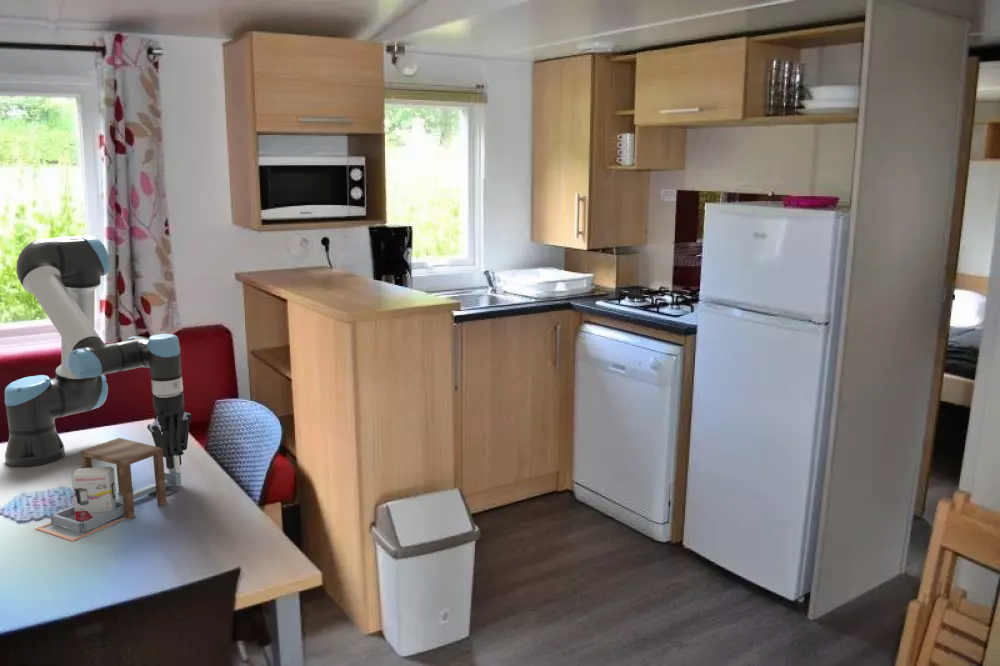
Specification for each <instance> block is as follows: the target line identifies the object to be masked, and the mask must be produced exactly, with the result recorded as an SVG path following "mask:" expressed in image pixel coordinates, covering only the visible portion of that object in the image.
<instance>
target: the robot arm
mask: <svg viewBox="0 0 1000 666" xmlns="http://www.w3.org/2000/svg"><path fill="white" fill-rule="evenodd" d="M15 267H16V275H17V278H18V281H19V283H20V284H21V286H22V287H23V289H24V290H25V291H26V292H27V293H29V294H32V295H33V296H34V298H35V299H36V300H37V303H38V304H39V305H40V307H41V309H42V310H43V311H44V313H45V314H46V316H47V318H49V320H50V322H51V323H52V325H53V326H54V327H55V330H56V331H57V332H58V333H59V335H60V336H61V338H60V339H61V342H60V343H61V346H60V347H61V352H60V354H61V356H60V357H61V363H60V364H59V366H57V367H56V369H55V377H54V378H50V377H49V376H48V375H45V374H37V375H34V376H33V375H31V376H26V377H22V378H19V379H16V380H14V381H12V382H10V383H9V384H8V385H7V386H6V387H5V389H4V404H5V409H6V416H7V424H8V434H9V437H8V441H7V445H6V449H5V453H4V459H5V464H6V465H8V466H11V467H16V468H17V467H19V468H20V467H22V468H23V467H34V466H35V467H36V466H40V465H45V464H49V463H52V462H56V461H57V460H60V459H61V458H63V457H64V456H65V454H66V449H65V445H64V443H63V441H62V439H61V437H60V435H59V433H58V431H57V429H56V423H55V422H56V421H55V419H57V418H63V417H67V416H71V415H75V414H80V413H84V412H85V413H86V412H89V411H92V410H94V409H98V408H101V406H103V405H104V403H105V402H106V400H107V398H108V397H107V396H108V392H109V385H108V383H107V378H106V375H108V374H113V373H119V372H124V371H129V370H134V369H138V368H146V369H149V371H150V373H149V374H150V382H151V394H153V396H152V405H153V409H154V412H155V414H154V421H153V422H152V423H150V424H148V425H146V427H147V430H148V431H149V432H150V434H151V436H152V439H153V442H154V446H156V447H160V448H162V451H163V458H165V466H166V468H167V470H168V471H172V472H176V473H180V474H181V473H182V472H181V466H182V456H183V455H184V453H185V452H184V451H186V450H187V449H188V443H189V442H188V441H189V433H190V426H191V425H190V424H191V420H192V418H193V414H192V413H190V412H189V413H188V412H185V408H184V406H185V397H184V393H183V392H184V385H183V375H182V374H183V373H182V372H183V371H182V358H181V357H182V356H181V347H180V340H179V337H178V336H177V335H176V334H172V333H159V334H154V335H153V334H152V335H151V336H149V337H148V338H147V337H145V336H141V335H140V336H135V335H133V336H130V337H128V338H126V339H125V340H124V341H119V342H112V343H105V342H104V341H103V340H102V338H101V337H100V335H99V334H98V333H97V330H96V329H95V307H96V306H95V305H96V304H95V302H96V301H95V298H96V297H95V295H96V293H95V292H96V289H97V288H98V287H99V286H100V285H101V282H102V281H101V277H104V276H106V275H107V274H108V273H109V271H110V269H111V263H110V256H109V253H108V251H107V248H106V247H105V245H104V244H103V242H102V241H101V240H100V239H99V238H98V237H97V236H94V235H93V236H92V235H76V236H75V235H73V236H64V237H63V236H61V237H51V238H50V237H49V238H48V237H47V238H46V237H45V238H38V239H36V240H32V241H31V242H29V243H28V244H27V245H25V247H24V248H23V249H22V250H21V252H20V253H19V255H18V258H17V260H16V266H15Z"/></svg>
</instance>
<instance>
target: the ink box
mask: <svg viewBox="0 0 1000 666" xmlns="http://www.w3.org/2000/svg"><path fill="white" fill-rule="evenodd" d="M115 476H116V475H115V467H112V466H102V467H101V466H99V467H92V468H82V467H81V468H77V469H76V470H75V471H74V472H73V474H71V485H72V498H73V506H74V510H75V515H74V520H76V521H79V522H85V521H87V520H89V519H92V518H94V517H97V516H99V515H101V514H104V513H106V512H109V511H111V510H113V509H116V508H117V501H116V499H117V493H116V492H117V489H116V477H115Z"/></svg>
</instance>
